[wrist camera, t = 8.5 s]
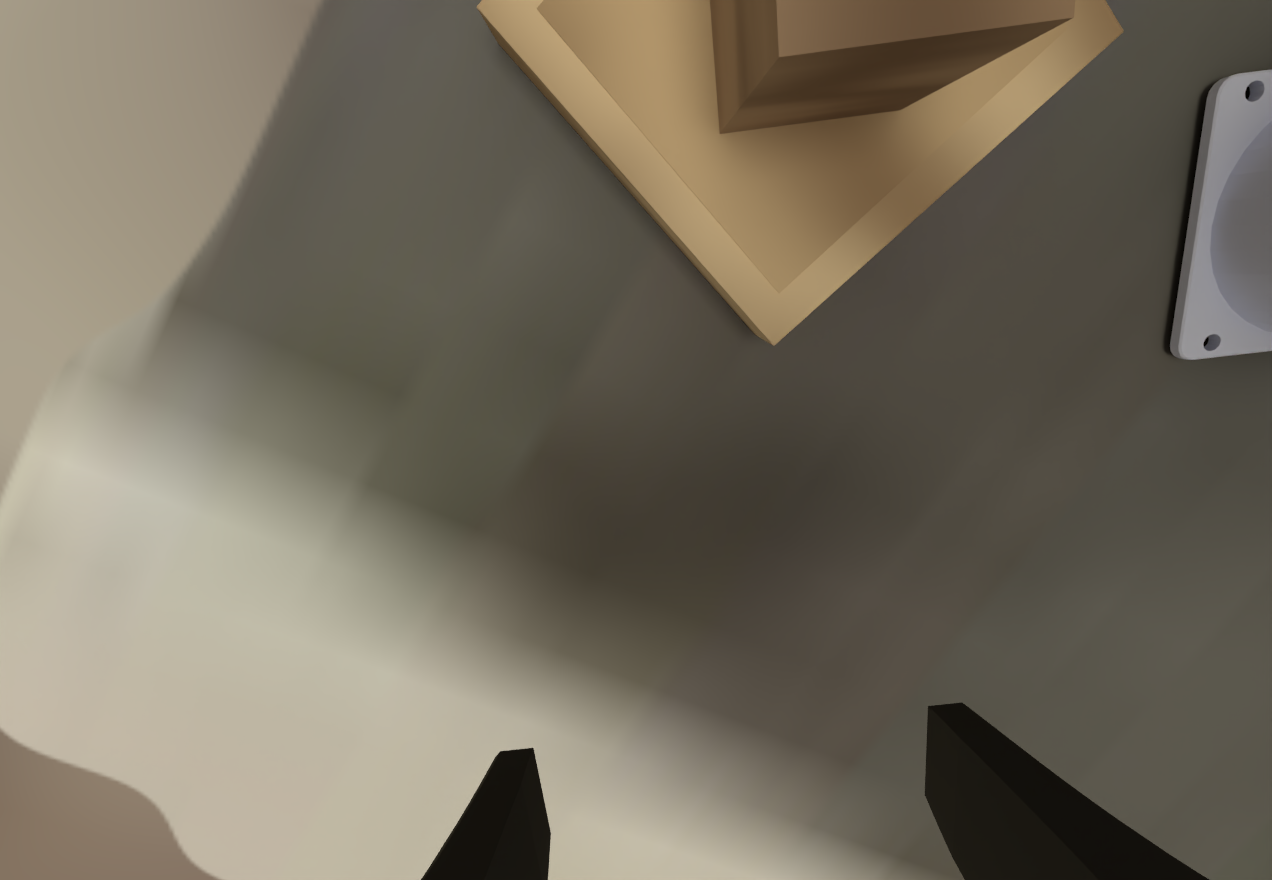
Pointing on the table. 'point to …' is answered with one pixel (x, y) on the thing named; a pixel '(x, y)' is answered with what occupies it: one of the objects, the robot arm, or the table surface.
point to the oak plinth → (769, 142)
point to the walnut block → (857, 53)
